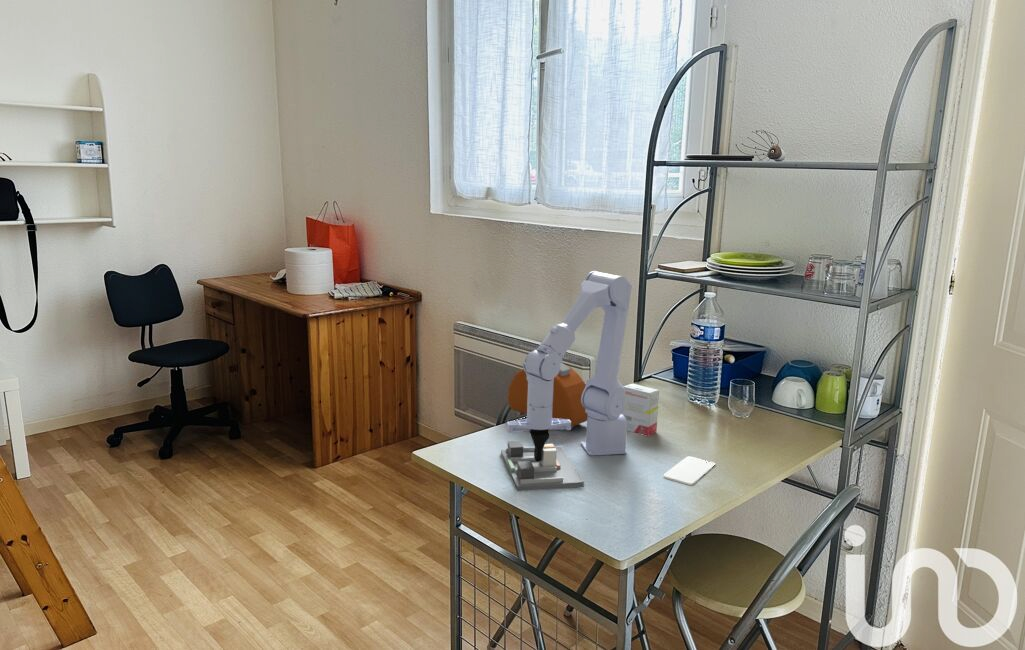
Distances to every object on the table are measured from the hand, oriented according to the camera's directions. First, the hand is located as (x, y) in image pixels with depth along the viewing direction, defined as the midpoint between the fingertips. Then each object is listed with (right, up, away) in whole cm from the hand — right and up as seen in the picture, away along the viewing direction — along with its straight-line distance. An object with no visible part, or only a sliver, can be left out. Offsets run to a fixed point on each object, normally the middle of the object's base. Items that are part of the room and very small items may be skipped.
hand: (537, 459), depth 174 cm
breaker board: (+1, -3, +1) cm, 3 cm away
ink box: (+28, +3, +27) cm, 39 cm away
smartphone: (+35, -4, +3) cm, 36 cm away
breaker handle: (+2, -1, +1) cm, 3 cm away
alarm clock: (+4, +5, +33) cm, 34 cm away
